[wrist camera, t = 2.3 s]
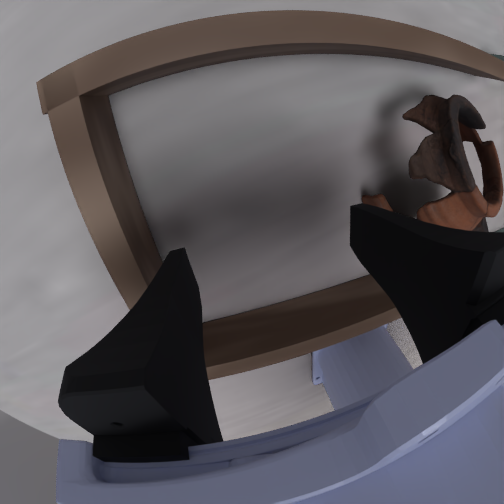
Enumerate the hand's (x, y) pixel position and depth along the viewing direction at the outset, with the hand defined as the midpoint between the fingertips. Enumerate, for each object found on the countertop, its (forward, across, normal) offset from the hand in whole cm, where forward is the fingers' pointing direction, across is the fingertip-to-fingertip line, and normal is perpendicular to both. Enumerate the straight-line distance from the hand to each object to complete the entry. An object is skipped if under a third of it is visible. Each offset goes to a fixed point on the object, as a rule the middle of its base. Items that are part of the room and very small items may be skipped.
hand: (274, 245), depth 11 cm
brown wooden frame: (+5, -7, 0) cm, 9 cm away
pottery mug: (+5, -12, 0) cm, 13 cm away
